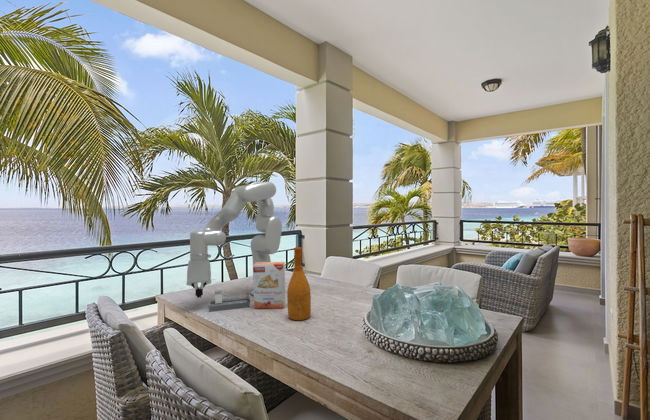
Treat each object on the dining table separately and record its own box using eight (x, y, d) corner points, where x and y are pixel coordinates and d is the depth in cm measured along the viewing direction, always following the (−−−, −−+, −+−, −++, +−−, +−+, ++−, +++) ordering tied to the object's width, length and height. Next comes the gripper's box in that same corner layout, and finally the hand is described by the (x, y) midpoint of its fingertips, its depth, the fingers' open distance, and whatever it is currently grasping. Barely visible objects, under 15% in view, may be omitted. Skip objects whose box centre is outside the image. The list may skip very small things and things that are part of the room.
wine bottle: (314, 314, 136) (312, 245, 135) (305, 322, 127) (304, 248, 126) (293, 312, 139) (292, 245, 139) (283, 320, 130) (282, 248, 129)
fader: (222, 301, 151) (222, 290, 151) (222, 304, 146) (221, 293, 146) (215, 302, 150) (215, 291, 150) (215, 305, 145) (214, 294, 145)
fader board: (248, 300, 157) (248, 292, 157) (250, 307, 147) (249, 298, 147) (210, 305, 151) (210, 296, 151) (209, 311, 142) (209, 303, 142)
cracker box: (253, 309, 144) (252, 264, 144) (256, 305, 150) (255, 261, 150) (284, 308, 144) (282, 263, 144) (285, 304, 150) (284, 261, 150)
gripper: (216, 255, 151) (216, 293, 151) (182, 257, 146) (182, 296, 146) (215, 258, 143) (215, 297, 144) (180, 259, 139) (180, 300, 139)
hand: (199, 297), depth 145 cm, fingers closed
